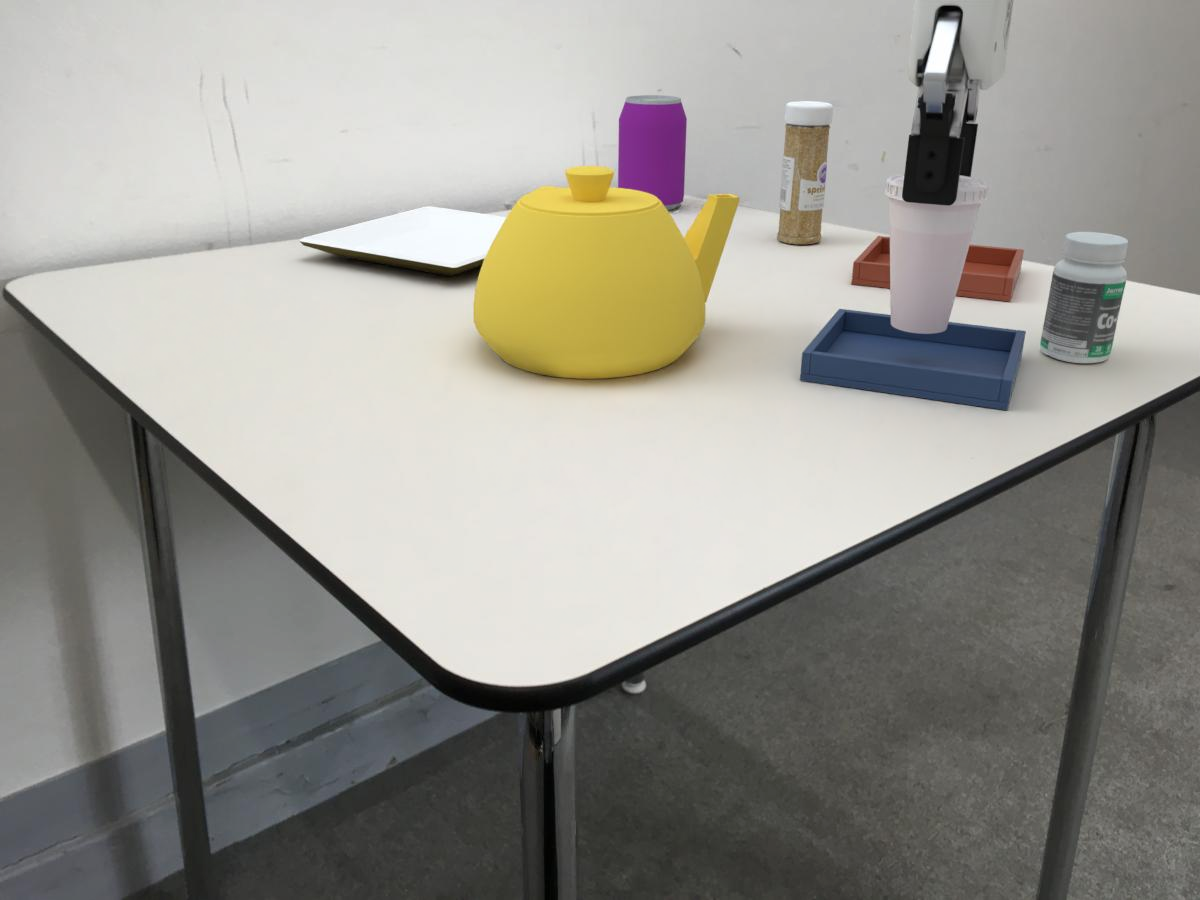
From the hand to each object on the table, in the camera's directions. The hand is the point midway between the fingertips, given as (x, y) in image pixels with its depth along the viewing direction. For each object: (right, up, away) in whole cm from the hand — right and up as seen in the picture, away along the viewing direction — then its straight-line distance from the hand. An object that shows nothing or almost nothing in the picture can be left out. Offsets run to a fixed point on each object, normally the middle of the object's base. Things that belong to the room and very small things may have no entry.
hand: (936, 190), depth 70 cm
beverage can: (-16, +11, +56) cm, 60 cm away
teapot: (-21, -9, +11) cm, 25 cm away
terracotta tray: (+9, -1, +27) cm, 29 cm away
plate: (-37, +2, +35) cm, 51 cm away
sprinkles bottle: (-2, +4, +41) cm, 41 cm away
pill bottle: (+12, -10, +8) cm, 18 cm away
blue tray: (0, -11, +5) cm, 12 cm away
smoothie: (0, -8, +4) cm, 9 cm away
